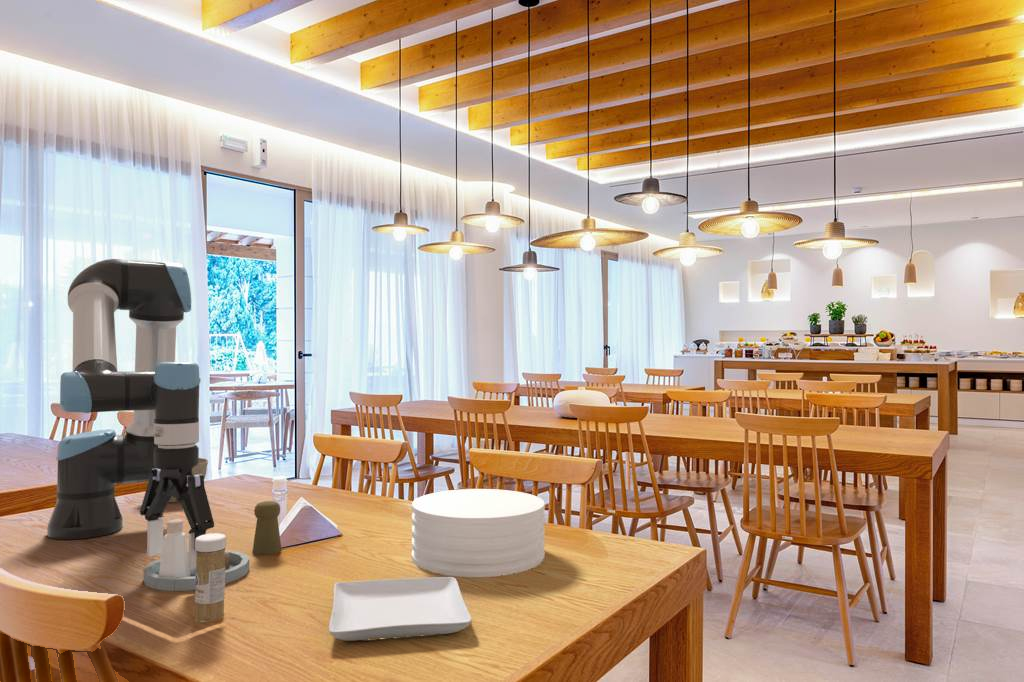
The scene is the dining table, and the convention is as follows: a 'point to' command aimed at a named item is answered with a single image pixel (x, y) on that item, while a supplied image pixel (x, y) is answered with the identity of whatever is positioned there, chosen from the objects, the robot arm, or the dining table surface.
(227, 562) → the bead walnut
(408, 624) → the salad plate
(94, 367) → the robot arm
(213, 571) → the sprinkles bottle
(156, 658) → the dining table surface
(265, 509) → the pepper shaker
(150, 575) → the groove tray
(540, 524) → the plate stack
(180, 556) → the pepper shaker
